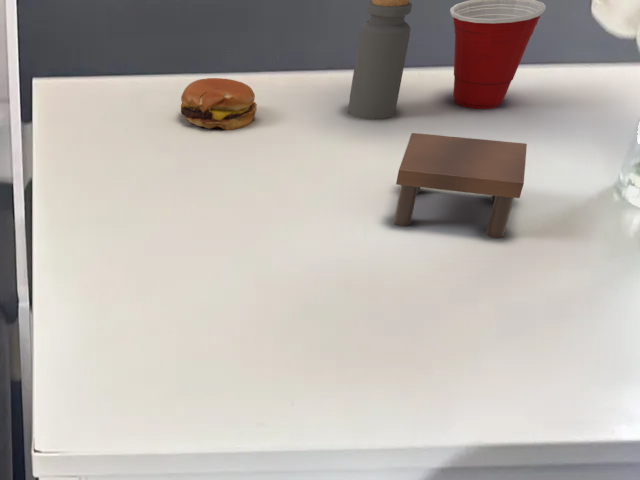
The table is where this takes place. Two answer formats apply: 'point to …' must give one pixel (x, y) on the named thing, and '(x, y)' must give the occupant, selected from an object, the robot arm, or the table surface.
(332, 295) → the table surface
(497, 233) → the stool
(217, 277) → the table surface
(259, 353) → the table surface
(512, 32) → the plastic cup
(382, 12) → the bottle
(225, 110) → the burger
